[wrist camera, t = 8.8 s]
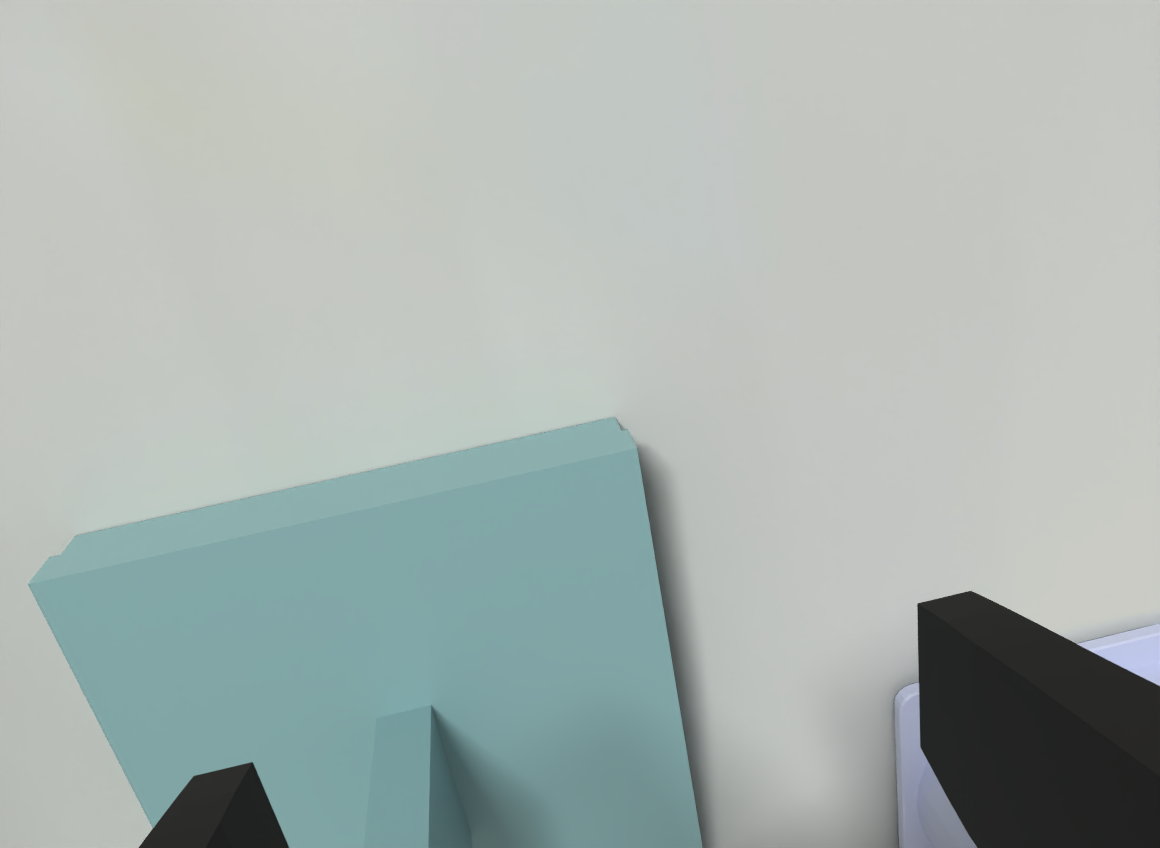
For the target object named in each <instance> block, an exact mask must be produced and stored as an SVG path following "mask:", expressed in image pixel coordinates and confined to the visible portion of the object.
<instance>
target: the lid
mask: <svg viewBox="0 0 1160 848" xmlns="http://www.w3.org/2000/svg"><path fill="white" fill-rule="evenodd" d="M28 585H29V587H30V589H31V591H32V593H33V595H34V597H35V599H36V601H37V603H38V605H39V607H40V609H41V611H42V613H43V615H44V617H45V619H46V621H47V622H48V624H49V626H50V628H51V630H52V632H53V634H54V636H55V638H56V640H57V642H58V644H59V646H60V648H61V650H62V652H63V654H64V656H65V658H66V660H67V662H68V664H69V665H70V667H71V669H72V671H73V673H74V675H75V677H76V679H77V681H78V683H79V685H80V687H81V689H82V691H83V693H84V695H85V697H86V699H87V701H88V703H89V705H90V706H91V708H92V710H93V712H94V714H95V716H96V718H97V720H98V722H99V724H100V726H101V728H102V730H103V732H104V734H105V736H106V738H107V740H108V742H109V744H110V746H111V748H112V749H113V751H114V753H115V755H116V757H117V759H118V761H119V763H120V765H121V767H122V769H123V771H124V773H125V775H126V777H127V779H128V781H129V783H130V785H131V787H132V789H133V790H134V792H135V794H136V796H137V798H138V800H139V802H140V804H141V806H142V808H143V810H144V812H145V814H146V816H147V818H148V820H149V822H150V824H151V826H152V828H154V827H155V825H156V824H157V823H158V821H159V820H160V819H161V817H162V816H163V815H164V813H165V812H166V811H167V809H168V808H169V807H170V805H171V804H172V803H173V801H174V800H175V799H176V798H177V796H178V795H179V794H180V792H181V791H182V790H183V789H184V787H185V786H186V785H187V784H188V782H189V781H190V780H191V779H192V777H193V776H196V775H200V774H204V773H208V772H213V771H217V770H221V769H225V768H229V767H234V766H238V765H242V764H246V763H250V762H253V764H254V766H255V768H256V771H257V773H258V775H259V778H260V780H261V782H262V785H263V787H264V790H265V792H266V794H267V797H268V799H269V801H270V804H271V806H272V808H273V811H274V813H275V815H276V818H277V820H278V822H279V825H280V827H281V829H282V832H283V834H284V836H285V839H286V841H287V844H288V846H289V848H703V847H702V841H701V835H700V829H699V823H698V816H697V810H696V804H695V798H694V792H693V786H692V780H691V774H690V768H689V762H688V756H687V749H686V743H685V737H684V731H683V725H682V719H681V713H680V707H679V701H678V695H677V689H676V682H675V676H674V670H673V664H672V658H671V652H670V646H669V640H668V634H667V628H666V621H665V615H664V609H663V603H662V597H661V591H660V585H659V579H658V573H657V567H656V561H655V554H654V548H653V542H652V536H651V530H650V524H649V518H648V512H647V506H646V500H645V493H644V487H643V481H642V475H641V469H640V463H639V457H638V451H637V447H636V445H635V443H634V441H633V439H632V437H631V435H630V433H629V431H628V429H626V430H621V428H620V426H619V424H618V422H617V420H616V418H615V417H613V418H608V419H603V420H599V421H594V422H590V423H585V424H581V425H576V426H572V427H567V428H563V429H558V430H554V431H549V432H544V433H540V434H535V435H531V436H526V437H522V438H517V439H513V440H508V441H504V442H499V443H495V444H490V445H486V446H481V447H476V448H472V449H467V450H463V451H458V452H454V453H449V454H445V455H440V456H436V457H431V458H427V459H422V460H417V461H413V462H408V463H404V464H399V465H395V466H390V467H386V468H381V469H377V470H372V471H368V472H363V473H359V474H354V475H349V476H345V477H340V478H336V479H331V480H327V481H322V482H318V483H313V484H309V485H304V486H300V487H295V488H291V489H286V490H281V491H277V492H272V493H268V494H263V495H259V496H254V497H250V498H245V499H241V500H236V501H232V502H227V503H222V504H218V505H213V506H209V507H204V508H200V509H195V510H191V511H186V512H182V513H177V514H173V515H168V516H164V517H159V518H154V519H150V520H145V521H141V522H136V523H132V524H127V525H123V526H118V527H114V528H109V529H105V530H100V531H95V532H91V533H86V534H82V535H77V536H75V537H74V539H73V540H72V541H71V543H70V544H69V545H68V546H67V548H66V549H65V550H64V551H63V553H62V554H61V555H57V556H53V557H49V559H48V560H47V561H46V562H45V564H44V565H43V566H42V567H41V568H40V570H39V571H38V572H37V573H36V575H35V576H34V577H33V578H32V580H31V581H30V582H29V583H28Z"/></svg>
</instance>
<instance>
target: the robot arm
mask: <svg viewBox="0 0 1160 848" xmlns="http://www.w3.org/2000/svg"><path fill="white" fill-rule="evenodd" d="M918 655H919V682H918V683H914V684H911V685H908V686H906V687H904V688H903V689H901V690H900V691H899V692H898V694H897V696H896V697H895V702H894V711H895V741H896V770H897V800H898V830H899V848H1160V624H1156V625H1152V626H1147V627H1143V628H1139V629H1135V630H1131V631H1127V632H1123V633H1119V634H1115V635H1111V636H1107V637H1102V638H1098V639H1094V640H1090V641H1086V642H1082V643H1078V644H1076V643H1074V642H1072V641H1070V640H1068V639H1066V638H1064V637H1062V636H1060V635H1058V634H1056V633H1054V632H1052V631H1050V630H1048V629H1047V628H1045V627H1043V626H1041V625H1039V624H1037V623H1035V622H1033V621H1031V620H1029V619H1027V618H1025V617H1023V616H1021V615H1019V614H1017V613H1015V612H1013V611H1011V610H1009V609H1007V608H1005V607H1003V606H1001V605H999V604H997V603H995V602H993V601H991V600H989V599H987V598H985V597H983V596H981V595H979V594H976V593H974V592H972V591H969V592H964V593H960V594H956V595H952V596H948V597H943V598H939V599H935V600H931V601H927V602H922V603H918ZM139 848H289V846H288V844H287V841H286V839H285V836H284V834H283V832H282V829H281V827H280V825H279V822H278V820H277V818H276V815H275V813H274V811H273V808H272V806H271V804H270V801H269V799H268V797H267V794H266V792H265V790H264V787H263V785H262V782H261V780H260V778H259V775H258V773H257V771H256V768H255V766H254V764H253V762H250V763H246V764H242V765H238V766H234V767H229V768H225V769H221V770H217V771H213V772H208V773H204V774H200V775H196V776H193V777H192V779H191V780H190V781H189V782H188V784H187V785H186V786H185V787H184V789H183V790H182V791H181V792H180V794H179V795H178V796H177V798H176V799H175V800H174V801H173V803H172V804H171V805H170V807H169V808H168V809H167V811H166V812H165V813H164V815H163V816H162V817H161V819H160V820H159V821H158V823H157V824H156V825H155V827H154V828H153V829H152V831H151V832H150V833H149V835H148V836H147V837H146V839H145V840H144V841H143V843H142V844H141V845H140V847H139Z"/></svg>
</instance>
